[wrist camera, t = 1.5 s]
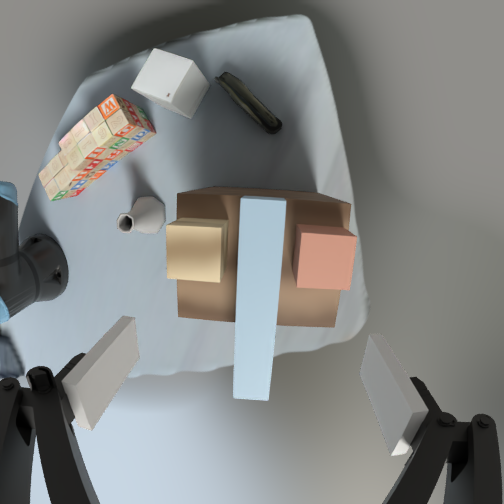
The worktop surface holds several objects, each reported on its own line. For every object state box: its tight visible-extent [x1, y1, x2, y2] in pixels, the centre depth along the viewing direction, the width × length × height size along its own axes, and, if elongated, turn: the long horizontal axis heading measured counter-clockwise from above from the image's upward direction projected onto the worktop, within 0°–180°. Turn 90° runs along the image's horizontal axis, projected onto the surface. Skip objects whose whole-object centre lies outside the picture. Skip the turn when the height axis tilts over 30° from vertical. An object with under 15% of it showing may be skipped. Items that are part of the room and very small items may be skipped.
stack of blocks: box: [38, 94, 156, 201], centre depth 46 cm, size 21×6×12 cm, turn 120°
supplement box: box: [131, 48, 210, 119], centre depth 42 cm, size 7×7×13 cm
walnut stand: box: [177, 186, 351, 327], centre depth 43 cm, size 14×18×22 cm
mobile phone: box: [214, 72, 282, 134], centre depth 46 cm, size 5×3×15 cm
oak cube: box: [166, 218, 229, 283], centre depth 29 cm, size 5×5×5 cm
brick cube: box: [292, 224, 357, 290], centre depth 29 cm, size 5×5×5 cm
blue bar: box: [233, 196, 286, 400], centre depth 31 cm, size 22×4×4 cm, turn 177°
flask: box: [117, 196, 166, 234], centre depth 49 cm, size 7×7×10 cm
